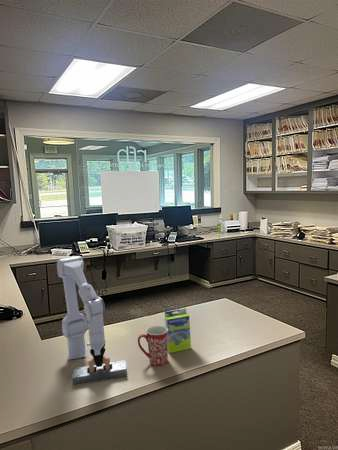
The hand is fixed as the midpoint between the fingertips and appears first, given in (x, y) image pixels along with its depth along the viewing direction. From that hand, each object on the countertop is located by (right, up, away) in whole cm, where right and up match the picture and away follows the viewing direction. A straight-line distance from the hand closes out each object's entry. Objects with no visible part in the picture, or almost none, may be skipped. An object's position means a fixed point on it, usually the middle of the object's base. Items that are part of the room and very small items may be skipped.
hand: (99, 364), depth 127 cm
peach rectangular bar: (0, -4, 0) cm, 3 cm away
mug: (+21, -3, +9) cm, 23 cm away
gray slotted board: (0, -5, +1) cm, 5 cm away
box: (+31, -1, +18) cm, 36 cm away
